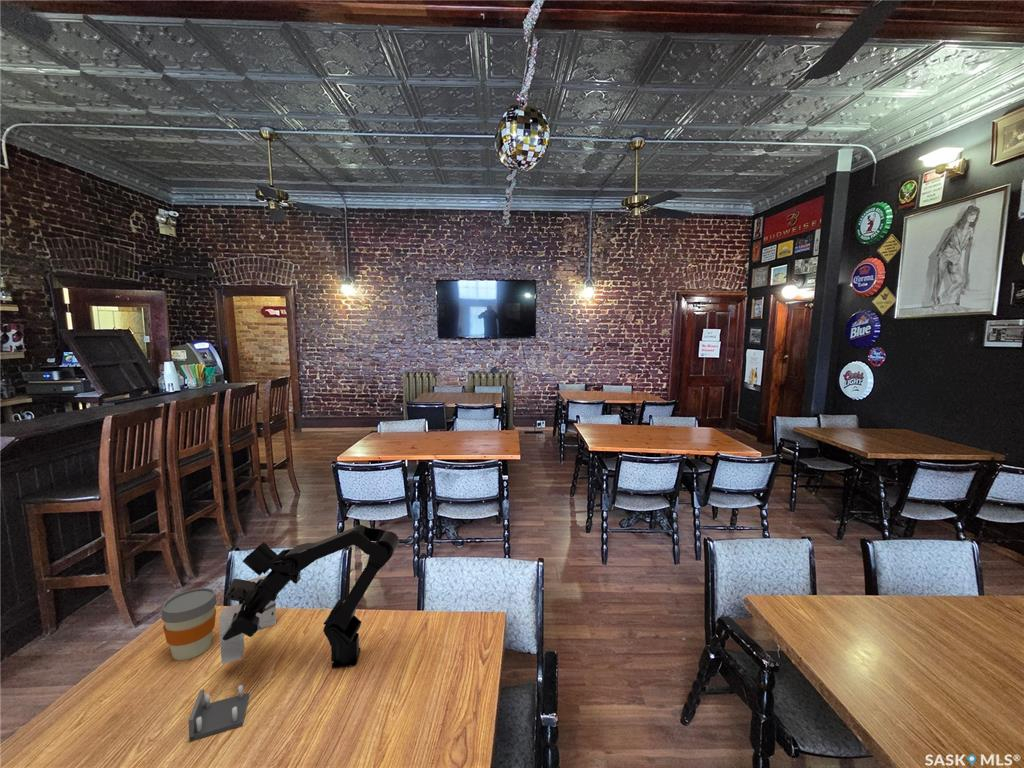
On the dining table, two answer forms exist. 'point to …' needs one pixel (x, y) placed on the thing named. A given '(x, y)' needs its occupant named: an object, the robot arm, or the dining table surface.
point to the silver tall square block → (232, 646)
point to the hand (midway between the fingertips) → (225, 633)
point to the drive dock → (216, 714)
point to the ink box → (266, 611)
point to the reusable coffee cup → (189, 622)
